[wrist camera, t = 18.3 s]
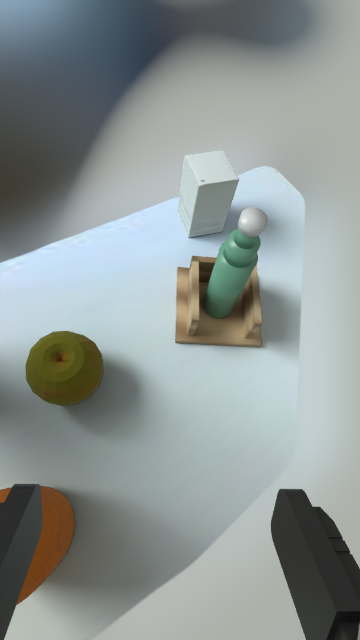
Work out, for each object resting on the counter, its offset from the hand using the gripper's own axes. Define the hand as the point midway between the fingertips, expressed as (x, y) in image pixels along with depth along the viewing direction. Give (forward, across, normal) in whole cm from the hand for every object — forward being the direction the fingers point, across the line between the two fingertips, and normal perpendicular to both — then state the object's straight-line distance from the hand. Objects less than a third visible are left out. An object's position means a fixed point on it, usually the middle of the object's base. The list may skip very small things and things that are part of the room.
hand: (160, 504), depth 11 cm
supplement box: (+59, -8, -7) cm, 60 cm away
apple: (+36, +12, +16) cm, 41 cm away
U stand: (+45, -10, +7) cm, 47 cm away
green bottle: (+44, -10, +6) cm, 46 cm away
